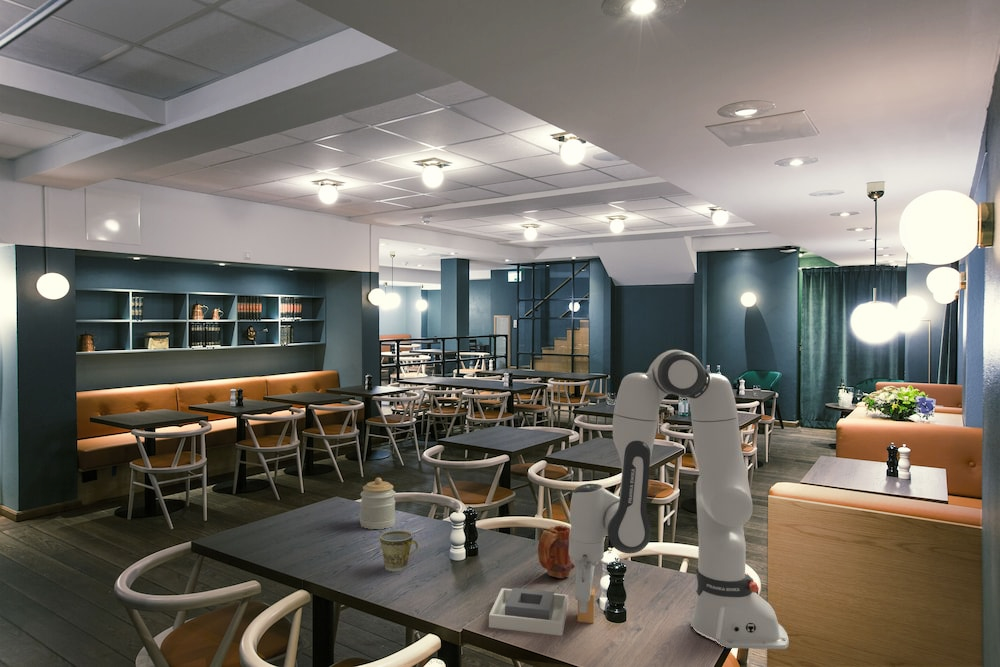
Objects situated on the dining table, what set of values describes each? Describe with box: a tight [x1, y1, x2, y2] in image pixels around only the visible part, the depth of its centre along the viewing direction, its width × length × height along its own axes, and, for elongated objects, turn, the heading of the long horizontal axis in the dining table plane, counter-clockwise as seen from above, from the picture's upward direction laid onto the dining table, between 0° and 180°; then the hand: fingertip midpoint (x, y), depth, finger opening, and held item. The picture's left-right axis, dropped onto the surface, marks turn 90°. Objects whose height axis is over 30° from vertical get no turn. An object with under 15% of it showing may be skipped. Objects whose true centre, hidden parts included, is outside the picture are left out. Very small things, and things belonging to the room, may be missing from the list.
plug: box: [577, 588, 596, 624], centre depth 156 cm, size 4×4×8 cm
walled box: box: [488, 587, 569, 637], centre depth 157 cm, size 18×16×4 cm
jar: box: [359, 477, 396, 530], centre depth 231 cm, size 13×13×18 cm
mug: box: [537, 525, 575, 579], centre depth 184 cm, size 15×8×15 cm, turn 141°
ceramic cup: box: [379, 529, 419, 573], centre depth 189 cm, size 13×10×10 cm
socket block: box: [505, 587, 555, 620], centre depth 157 cm, size 11×11×4 cm
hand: (584, 603), depth 157 cm, fingers open, 8 cm apart
